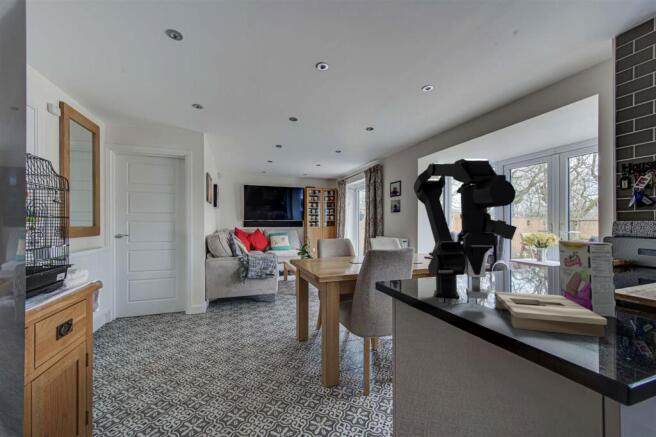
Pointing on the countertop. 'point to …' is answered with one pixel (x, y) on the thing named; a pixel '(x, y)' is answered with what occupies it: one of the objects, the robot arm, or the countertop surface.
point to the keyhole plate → (550, 314)
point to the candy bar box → (588, 275)
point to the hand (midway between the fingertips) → (475, 273)
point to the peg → (476, 282)
